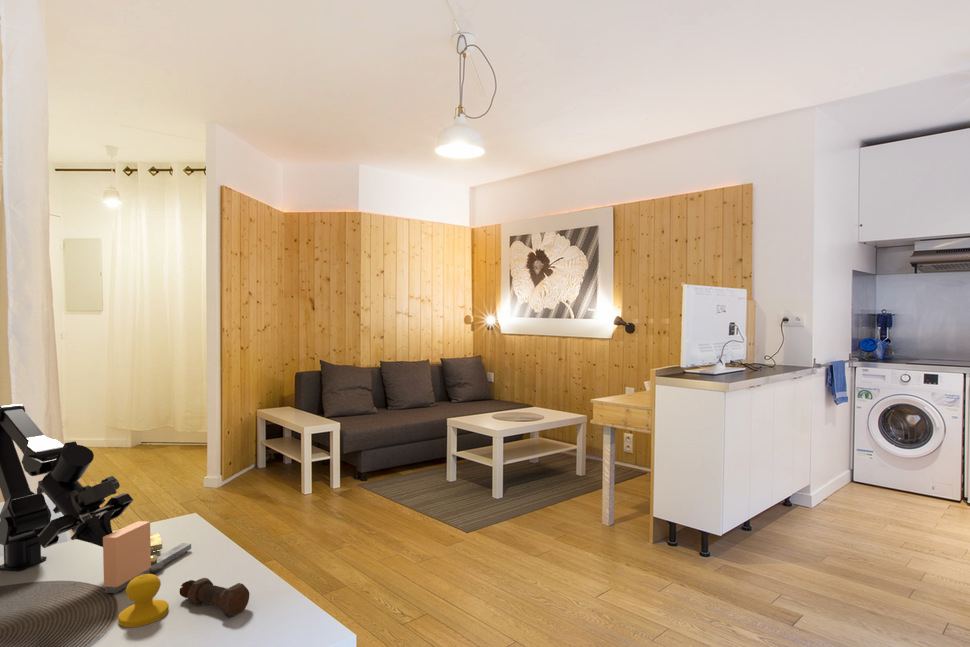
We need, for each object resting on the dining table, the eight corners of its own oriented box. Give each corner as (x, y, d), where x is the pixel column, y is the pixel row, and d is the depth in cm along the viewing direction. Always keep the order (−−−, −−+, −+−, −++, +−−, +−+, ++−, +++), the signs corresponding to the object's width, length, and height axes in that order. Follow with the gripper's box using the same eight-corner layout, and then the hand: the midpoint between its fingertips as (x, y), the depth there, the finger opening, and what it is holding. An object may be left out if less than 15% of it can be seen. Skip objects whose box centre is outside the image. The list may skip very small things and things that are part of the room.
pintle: (144, 564, 122) (144, 558, 122) (151, 560, 124) (151, 554, 124) (152, 564, 121) (152, 559, 121) (159, 560, 123) (159, 555, 123)
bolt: (190, 605, 111) (242, 619, 104) (168, 602, 107) (221, 617, 100) (202, 574, 113) (253, 585, 107) (181, 570, 109) (234, 582, 103)
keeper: (162, 559, 128) (162, 543, 128) (137, 564, 126) (136, 549, 126) (159, 547, 136) (158, 532, 136) (134, 552, 133) (134, 537, 133)
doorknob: (175, 603, 108) (157, 625, 100) (131, 607, 107) (109, 629, 99) (174, 565, 108) (156, 584, 100) (130, 568, 107) (108, 588, 99)
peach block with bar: (101, 592, 112) (99, 536, 112) (178, 547, 134) (177, 501, 134) (119, 593, 111) (118, 537, 111) (195, 548, 133) (194, 502, 133)
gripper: (48, 480, 109) (98, 538, 107) (125, 457, 128) (168, 507, 126) (16, 519, 111) (64, 577, 109) (96, 490, 129) (139, 540, 127)
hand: (113, 547), depth 118 cm, fingers closed
